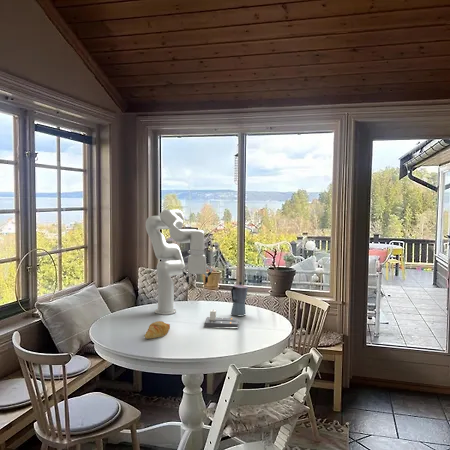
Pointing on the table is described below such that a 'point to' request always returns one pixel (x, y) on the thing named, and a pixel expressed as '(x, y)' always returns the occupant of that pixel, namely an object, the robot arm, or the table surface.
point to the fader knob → (213, 315)
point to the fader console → (221, 322)
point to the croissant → (157, 330)
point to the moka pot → (238, 299)
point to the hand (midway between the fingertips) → (197, 284)
